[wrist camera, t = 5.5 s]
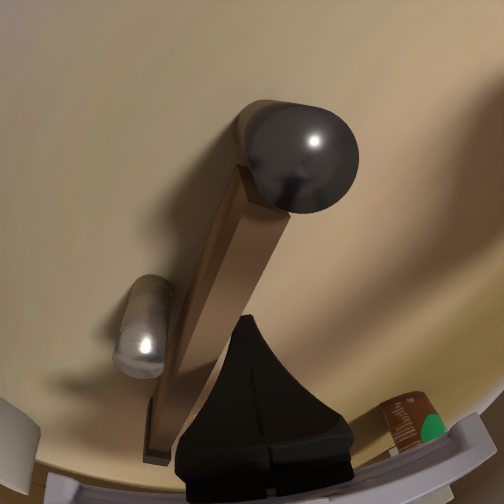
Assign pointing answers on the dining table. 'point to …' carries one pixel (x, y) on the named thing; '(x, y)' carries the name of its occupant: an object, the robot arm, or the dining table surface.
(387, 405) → the food container
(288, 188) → the hinge post
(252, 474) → the robot arm
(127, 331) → the post
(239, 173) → the brown long bar
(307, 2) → the dining table surface
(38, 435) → the toilet tissue
